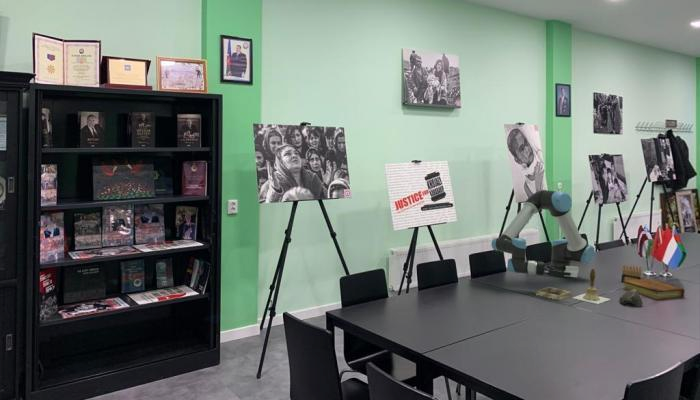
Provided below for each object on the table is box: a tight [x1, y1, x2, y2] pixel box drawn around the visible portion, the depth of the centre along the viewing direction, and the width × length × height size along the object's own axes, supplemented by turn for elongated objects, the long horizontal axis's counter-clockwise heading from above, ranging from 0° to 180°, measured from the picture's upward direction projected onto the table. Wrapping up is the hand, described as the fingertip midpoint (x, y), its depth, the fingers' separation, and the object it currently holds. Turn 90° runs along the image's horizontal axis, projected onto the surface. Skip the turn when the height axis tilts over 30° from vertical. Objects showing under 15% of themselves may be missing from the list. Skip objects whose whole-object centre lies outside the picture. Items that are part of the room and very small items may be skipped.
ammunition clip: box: [620, 262, 642, 284], centre depth 305 cm, size 11×2×12 cm, turn 45°
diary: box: [622, 278, 686, 301], centre depth 284 cm, size 23×19×6 cm
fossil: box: [618, 289, 644, 308], centre depth 263 cm, size 11×9×10 cm
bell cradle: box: [535, 286, 573, 301], centre depth 278 cm, size 13×13×2 cm
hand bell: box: [583, 268, 600, 300], centre depth 271 cm, size 8×8×16 cm
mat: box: [572, 293, 612, 305], centre depth 271 cm, size 14×14×1 cm
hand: (578, 272), depth 273 cm, fingers open, 13 cm apart
